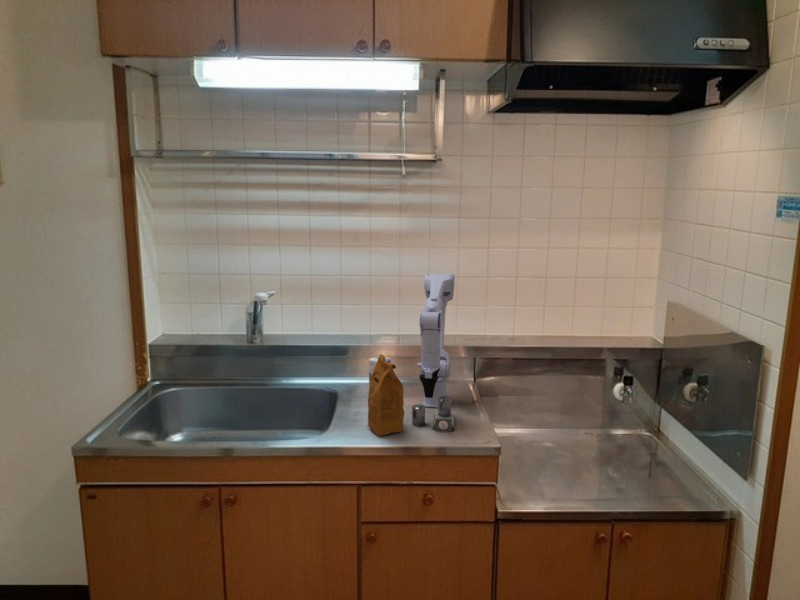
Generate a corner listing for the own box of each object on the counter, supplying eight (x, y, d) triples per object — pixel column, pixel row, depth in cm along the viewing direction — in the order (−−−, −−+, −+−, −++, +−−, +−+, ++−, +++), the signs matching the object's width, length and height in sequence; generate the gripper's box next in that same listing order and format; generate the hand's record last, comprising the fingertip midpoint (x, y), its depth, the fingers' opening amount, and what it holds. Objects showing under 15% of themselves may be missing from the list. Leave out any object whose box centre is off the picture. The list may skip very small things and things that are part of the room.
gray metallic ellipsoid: (438, 412, 186) (438, 395, 185) (451, 412, 186) (451, 396, 185) (437, 417, 182) (438, 400, 181) (450, 417, 182) (451, 401, 181)
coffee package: (394, 418, 186) (394, 351, 181) (407, 434, 174) (407, 363, 170) (364, 421, 183) (363, 354, 179) (374, 438, 171) (374, 366, 167)
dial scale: (434, 417, 187) (434, 406, 186) (455, 418, 186) (455, 407, 185) (432, 431, 176) (432, 420, 176) (454, 432, 176) (454, 421, 175)
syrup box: (391, 397, 203) (391, 357, 200) (382, 403, 198) (382, 361, 195) (378, 394, 206) (378, 354, 203) (368, 399, 201) (368, 359, 198)
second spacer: (413, 421, 184) (412, 404, 183) (425, 421, 183) (425, 404, 182) (411, 425, 180) (411, 408, 179) (424, 426, 179) (424, 409, 178)
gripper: (419, 343, 185) (419, 383, 188) (414, 357, 171) (414, 401, 174) (442, 344, 184) (441, 385, 187) (439, 358, 170) (438, 402, 173)
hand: (430, 392), depth 181 cm, fingers open, 7 cm apart
